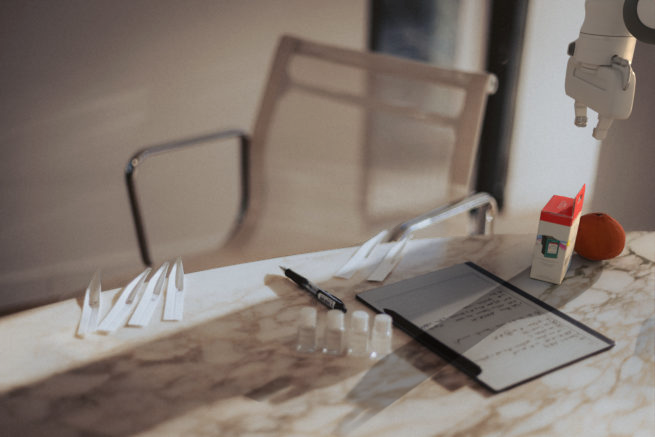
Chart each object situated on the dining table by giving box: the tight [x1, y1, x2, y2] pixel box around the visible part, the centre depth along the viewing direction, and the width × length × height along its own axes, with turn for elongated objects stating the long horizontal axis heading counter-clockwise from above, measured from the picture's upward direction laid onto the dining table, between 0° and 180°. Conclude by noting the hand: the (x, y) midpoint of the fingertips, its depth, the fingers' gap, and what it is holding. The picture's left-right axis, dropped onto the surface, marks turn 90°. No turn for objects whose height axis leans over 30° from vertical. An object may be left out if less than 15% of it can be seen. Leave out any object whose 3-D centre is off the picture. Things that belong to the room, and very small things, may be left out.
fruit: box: [573, 211, 627, 261], centre depth 105 cm, size 9×9×8 cm
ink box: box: [529, 183, 587, 285], centre depth 99 cm, size 8×5×15 cm, turn 149°
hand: (588, 132), depth 109 cm, fingers open, 7 cm apart
